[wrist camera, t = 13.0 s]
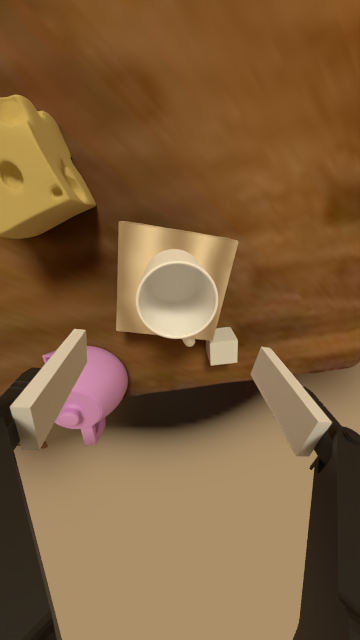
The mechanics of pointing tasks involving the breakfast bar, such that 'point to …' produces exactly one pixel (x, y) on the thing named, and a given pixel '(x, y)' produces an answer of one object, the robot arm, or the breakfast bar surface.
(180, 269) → the mug
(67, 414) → the teapot
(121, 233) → the oak block
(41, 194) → the cheese
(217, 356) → the beige block
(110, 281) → the breakfast bar surface
